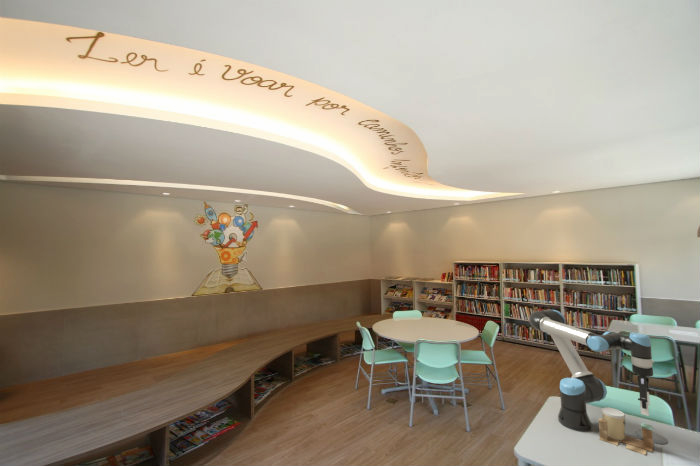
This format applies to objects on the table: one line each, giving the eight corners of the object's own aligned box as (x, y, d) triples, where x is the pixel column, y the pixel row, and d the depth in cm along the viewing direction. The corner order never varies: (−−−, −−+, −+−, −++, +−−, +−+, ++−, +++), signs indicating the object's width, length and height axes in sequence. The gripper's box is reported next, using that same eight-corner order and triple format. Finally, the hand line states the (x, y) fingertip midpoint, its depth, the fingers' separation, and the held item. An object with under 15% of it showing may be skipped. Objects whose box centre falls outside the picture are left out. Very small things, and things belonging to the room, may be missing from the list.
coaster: (633, 436, 157) (633, 436, 157) (635, 427, 165) (635, 426, 165) (667, 447, 148) (667, 446, 148) (667, 436, 156) (667, 436, 156)
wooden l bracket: (601, 435, 158) (599, 415, 159) (603, 429, 164) (602, 409, 164) (653, 452, 144) (651, 430, 145) (654, 445, 150) (652, 423, 150)
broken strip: (599, 439, 155) (598, 420, 155) (600, 436, 158) (599, 417, 158) (645, 455, 143) (644, 434, 143) (646, 451, 145) (644, 431, 146)
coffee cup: (631, 441, 152) (629, 417, 152) (609, 439, 154) (608, 415, 155) (619, 431, 161) (617, 408, 161) (599, 429, 163) (597, 406, 164)
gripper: (652, 375, 139) (655, 422, 138) (653, 361, 157) (656, 403, 155) (630, 370, 145) (633, 416, 143) (633, 357, 162) (636, 398, 161)
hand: (645, 409), depth 149 cm, fingers open, 13 cm apart
